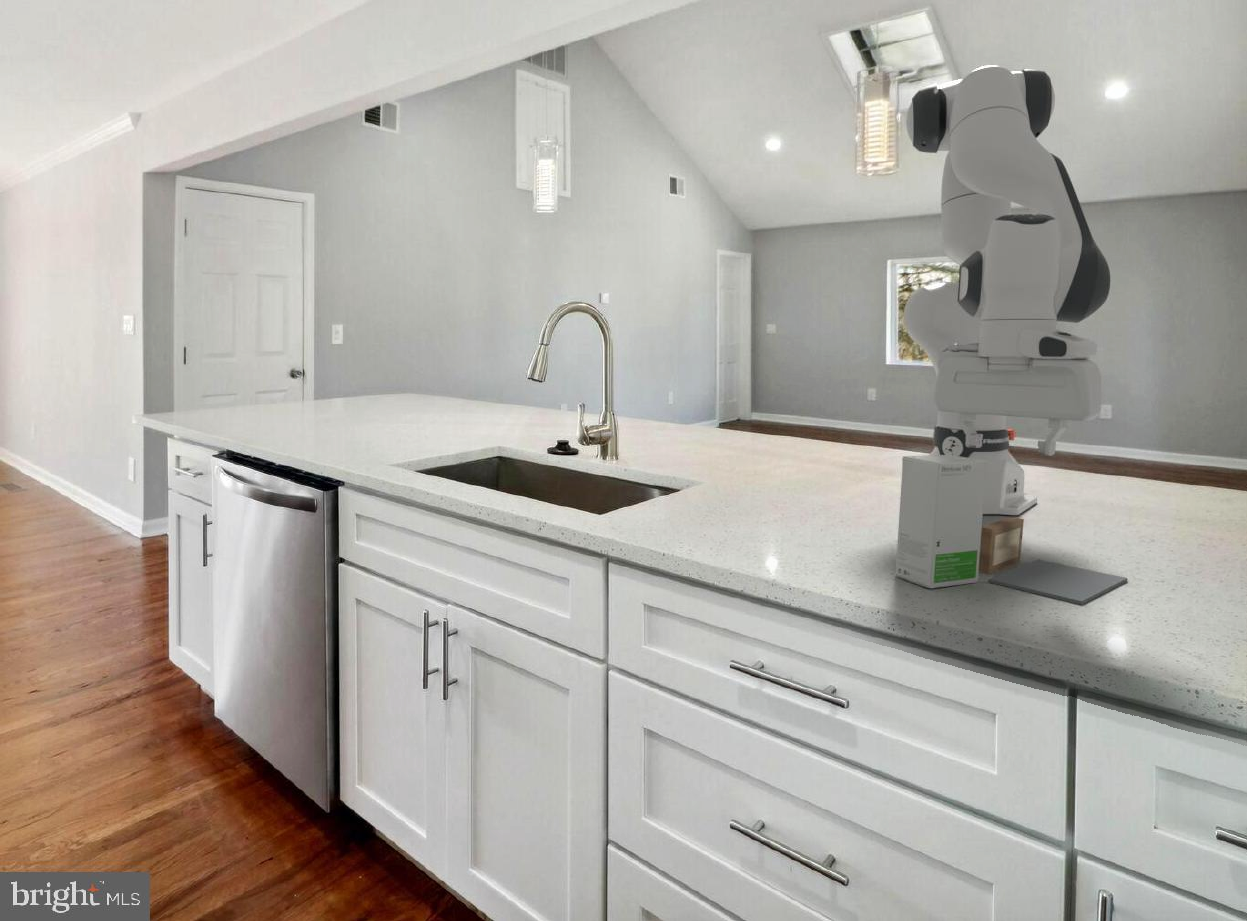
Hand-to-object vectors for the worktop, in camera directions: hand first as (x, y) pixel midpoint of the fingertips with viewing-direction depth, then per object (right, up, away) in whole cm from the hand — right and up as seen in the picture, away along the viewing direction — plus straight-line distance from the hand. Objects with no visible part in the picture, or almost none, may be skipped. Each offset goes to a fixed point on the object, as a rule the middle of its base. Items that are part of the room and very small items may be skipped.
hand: (1008, 450), depth 107 cm
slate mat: (+4, -16, -4) cm, 17 cm away
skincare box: (-11, -16, -3) cm, 20 cm away
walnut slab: (0, -15, +3) cm, 16 cm away
